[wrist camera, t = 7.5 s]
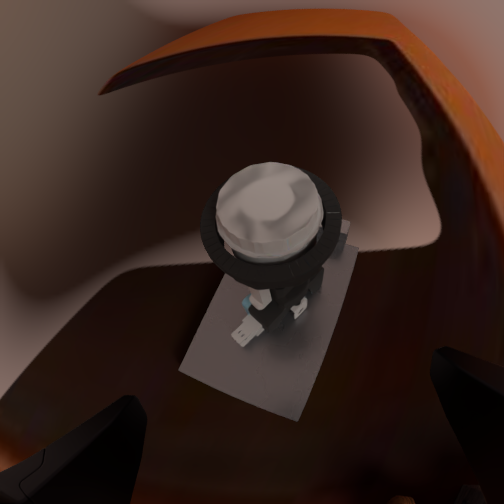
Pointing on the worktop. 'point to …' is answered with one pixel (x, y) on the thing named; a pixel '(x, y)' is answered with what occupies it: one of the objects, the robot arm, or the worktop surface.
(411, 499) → the press pin
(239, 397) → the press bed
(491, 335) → the worktop surface
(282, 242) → the push button
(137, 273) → the worktop surface
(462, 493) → the block
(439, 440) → the worktop surface
